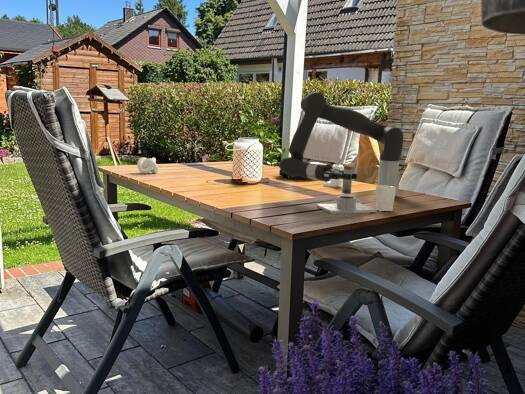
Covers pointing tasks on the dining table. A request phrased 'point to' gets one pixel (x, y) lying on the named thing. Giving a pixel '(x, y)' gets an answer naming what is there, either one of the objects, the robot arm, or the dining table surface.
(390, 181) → the robot arm
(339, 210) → the hinge leaves
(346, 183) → the hinge pin
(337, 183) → the sitting furry creature
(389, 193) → the white cup
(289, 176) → the stone bowl
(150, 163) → the white animal figurine
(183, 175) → the dining table surface
